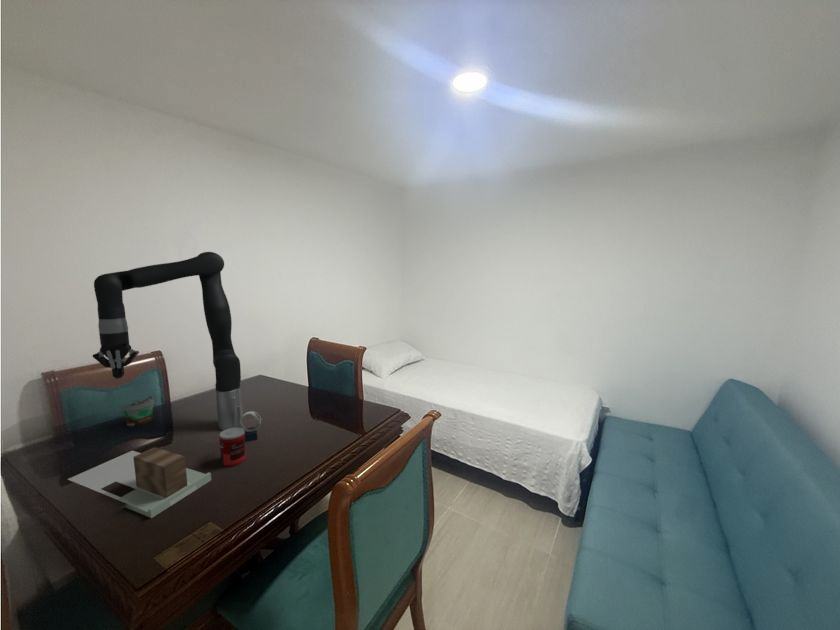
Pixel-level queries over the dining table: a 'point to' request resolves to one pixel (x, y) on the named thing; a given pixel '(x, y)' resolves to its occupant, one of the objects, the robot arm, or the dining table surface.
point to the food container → (139, 412)
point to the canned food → (232, 446)
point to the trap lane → (139, 498)
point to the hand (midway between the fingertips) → (119, 377)
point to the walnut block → (160, 471)
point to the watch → (252, 432)
